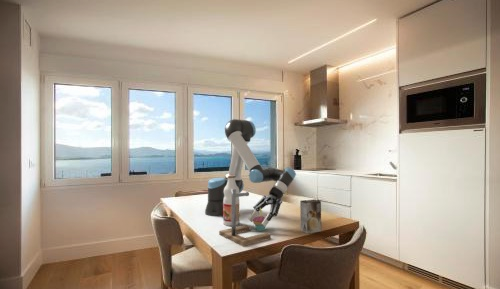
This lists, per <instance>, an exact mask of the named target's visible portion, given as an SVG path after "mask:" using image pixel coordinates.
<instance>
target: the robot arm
mask: <svg viewBox="0 0 500 289" xmlns="http://www.w3.org/2000/svg"><path fill="white" fill-rule="evenodd" d="M256 132H257V129H256V126H255V124H254V122H253V121H251V120H247V119H235V118H233V119H230V120H229V121H228V122H226V124H225V127H224V134H225V138H227V140H228V141H229V142H231V143H232V145H233V148H232V149H233V150H232V155H231V160H230V165H229V169H228V173H227V174H225V177H220V176H219V177H214V178H210V179H209V180H208V181H207V204H206V207H205V209H204V210H205V211H204V214H205V215H207V216H212V217H213V216H214V217H217V216H223V199H224V188H225V186H226V185H227V182H228V178H227V176H228V175H235V176H236V178H235V182H236V185H237V187H238V188H239V193H243V189H244V185H245V184H244V181H243V177H242V176H241V174H242V170H243V166H245V167H246V168H247V170H248V172H249V173H248V177H249V181H250V182H251V183H253V184H258V183H264V182H274V184H273V186H272V187H271V188H270V190H269V192H268V195H267V196H266V194H264V195H263V196H262V197H261V199H260V200H259V201H257V202H256V203H255V204H254V206H252V209H253V211H252V212H251V214H250V216H249V218H248V220H249V221H250V222H251V223H253V220H254V218H255V217H258V214H260V207H261V210H262V209H264V208H265V207H266V206H268V205H270V209H269V212H268V213H267V215H266V216H265V217H266V218H265V219H264V221H263V222H262V225H263V226H264V227H266V228H267V225H268V224H269V223H268V222H271V220H272V218H274V217H277V216H278V214H279V211H280V207H281V205H282V204H283V200H282V198H283V196H284V195H285V193H286V192H287V191H288V188H289V186H290V185H291V183H292V182H293V181H294V179H295V177H296V176H297V175H296V174H297V173H296V170H294V169H293V168H291V167H284V169H283V170H282V169H279V168H275V167H272V166H271V167H270V166H266V167H265V168H263V167H262V165H261V163H260V162H259V161H258V159H257V158H256V155H254V153H253V151H252V150H251V148H250V147H249V145H248V144H249V143H250V142H251V139H252V138H253V137H254V136H255V135H256Z"/></svg>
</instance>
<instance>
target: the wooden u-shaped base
mask: <svg viewBox="0 0 500 289" xmlns="http://www.w3.org/2000/svg"><path fill="white" fill-rule="evenodd" d="M248 231H249V232H250V231H251V226H249V225H248V224H244V225H240V226H236V235H235V236H232V227H230V228H227V229H226V228H225V229H221V230H219V231H218V235H219V236H221V237H223V238H225V239H227V240H229V241H231V242H233V243H235V244H236V245H239V246H240V247H244V246H248V244H249V245H251V244H255V243H260V242H263V241H267V240H270V239H272V238H271V236H272V235H271V233H268V232H263V233H258V234H255V235H251V236H247V237H246V236H245V237H244V236H241V235H240V233H244V232H248Z"/></svg>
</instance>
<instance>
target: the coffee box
mask: <svg viewBox="0 0 500 289" xmlns="http://www.w3.org/2000/svg"><path fill="white" fill-rule="evenodd" d="M299 206H300V207H299V210H300V220H299V221H300V231H301V232H303V233H305V234H312V233H313V234H314V233H319V232H322V201H321V200H318V199H306V200H305V199H304V200H300V203H299Z"/></svg>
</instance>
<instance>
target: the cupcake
mask: <svg viewBox="0 0 500 289" xmlns="http://www.w3.org/2000/svg"><path fill="white" fill-rule="evenodd" d="M265 218H266V216H264V215H262V209H261V207H260V211H259V215H257V216H256V217H255V218H254V220H253V222H252V223H253V225H254V226H255V230H256V231H259V232H262V231H265V230H266V228H267V226H266V227H264V226H263V225H262V222H263V221H264V219H265ZM269 222H270V221H269ZM269 222H268V224H269Z"/></svg>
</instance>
